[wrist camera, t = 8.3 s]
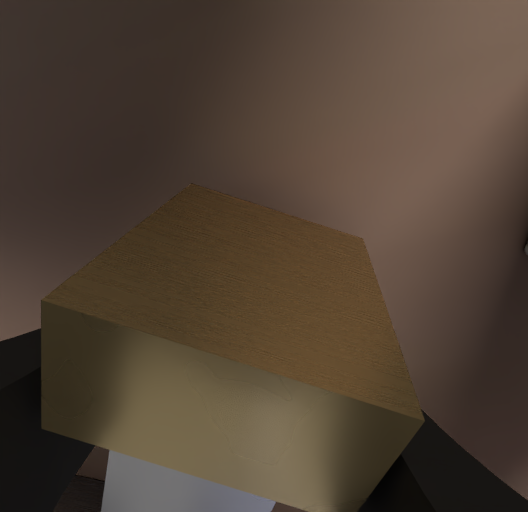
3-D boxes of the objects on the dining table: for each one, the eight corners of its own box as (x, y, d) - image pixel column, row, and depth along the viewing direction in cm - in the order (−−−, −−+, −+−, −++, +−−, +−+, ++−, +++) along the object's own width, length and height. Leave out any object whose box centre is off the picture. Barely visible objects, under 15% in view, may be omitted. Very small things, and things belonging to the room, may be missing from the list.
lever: (256, 469, 15) (223, 688, 9) (141, 433, 15) (41, 635, 9) (362, 238, 10) (424, 420, 4) (191, 183, 10) (41, 299, 4)
